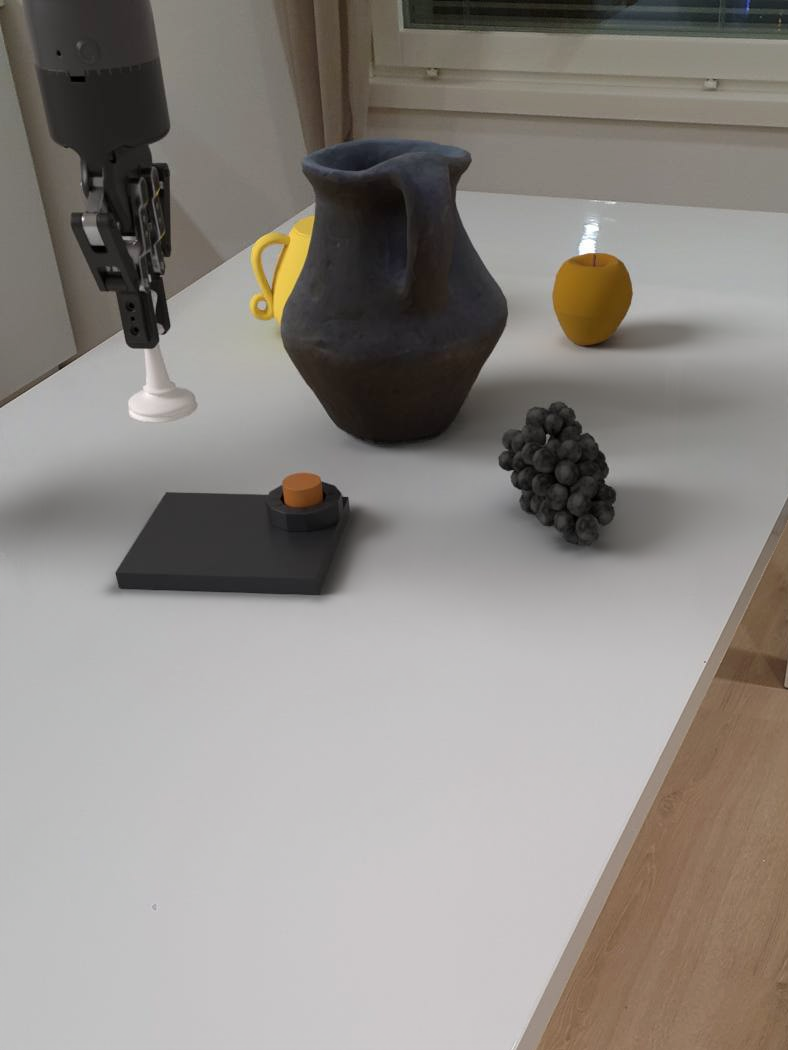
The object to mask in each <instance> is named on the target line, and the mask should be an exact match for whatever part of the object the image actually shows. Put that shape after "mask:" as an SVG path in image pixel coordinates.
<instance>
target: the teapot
mask: <svg viewBox="0 0 788 1050" xmlns="http://www.w3.org/2000/svg"><path fill="white" fill-rule="evenodd" d="M314 218H315V214H311V215H309V216H305V217H304V218H301V219H299V220H298V221H297V222H296V223H295V224H294V225H293V226H292V228H291V230H290V231H289V234H285V233H281V232H269V233H267V234H264V235H263V236H261V237H259V239H257V240H256V242H254V244H253V247H252V248H251V252H250V262H251V267H252V270H253V273H254V276H255V279H256V282H257V284H258V286H259V288H260V291H261V293H256V294H254V295H253V296H252V297H251V299H250V301H249V311H250V313H251V315H252V316H253V318H255V319H257V320H260V321H262V322H263V321H267V322H268V321H270V320H272V319H273V318H274V319H275V321H276V323H277V324H278V325H279V326H280V327H281V317H282V313H283V308H284V306H285V303H286V301H287V299H288V297H289V296H290V294H291V292H292V290H293V288H294V285H295V283H296V281H297V279H298V277H299V275H300V272H301V270H302V268H303V266H304V263H305V260H306V257H307V253H308V249H309V244H310V240H311V235H312V229H313V224H314ZM272 245H283V246H282V248H281V251H280V253H279V255H278V258H277V261H276V264H275V268H274V271H273V275H272V280H271V286H270V283H269V282H268V279H267V277H266V274H265V271H264V267H263V263H262V255H263V252H264V250H265V249H267V248H268V247H269V246H270V247H271V246H272ZM259 302H265V304H266V305H265V308H264V309H260V308H259V307H258V304H259Z"/></svg>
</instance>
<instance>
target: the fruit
mask: <svg viewBox="0 0 788 1050" xmlns="http://www.w3.org/2000/svg"><path fill="white" fill-rule="evenodd" d="M576 419H577V415H576V412H575V410H574V409H573V408H571V407H569V406H568V405H567V403H565V402H564V401H555V402H552V403H551V404H550V405H549V407H548V408H546V407H539V406H533V407H532V408H530V409H528V410H527V412H526V414H525V424H524V425H523V427H522V430H520V429H512V428H510V429H508V430H507V431H506V432H504V434H503V435H502V437H501V443H502V445H503V447H504V448H505V450H504V451H503V450H502V452H501V453H500V454H499V456H498V457H497V458H498V459H497V460H498V466H499V467H500V468H501V469H502V470H505V471H507V472H511V471H512V472H511V474H510V476H509V478H510V482H511V484H512V486H513V487H514V488H516V489H517V490H519V491H521V495H520V497H519V500H518V502H519V505H520V509H521V510H522V511H523V512H526V513H527V514H536V518H537V519H538V521H539V523H540V524H541V526H544V527H549V528H551V527H554V529H555V530H556V531H557V532H559V533H560V534H562V537H563V538H564V541H566V542H569V543H571V544H574V543H578V544H579V545H580V546H587V547H590V546H592V545H593V544H595V543H596V542H597V541H598V540H599V537H600V528H601V526H603V527H605V526H607V525H609V524H611V523H612V522H613V520H614V518H615V516H616V513H615V506H613V505H614V504H615V503H616V501H617V491H616V490H615V489H614V487H613V486H611V485H609V484H606V481H605V480H606V479H607V477H608V476H609V473H610V468H609V464H608V463H607V461H606V460H607V457H606V455H605V454H604V452H603V451H602V450H601V449H600V447H599V443H597V442H596V439H595V437H594V435H592V434H591V433H589V432H584V433H583V425H582V424H581V422H580V421H579V420H576ZM547 435H548V436H549V437H548V439H547Z"/></svg>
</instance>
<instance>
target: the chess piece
mask: <svg viewBox="0 0 788 1050" xmlns="http://www.w3.org/2000/svg"><path fill="white" fill-rule="evenodd" d="M148 276H149V281H150V282H151V276H150V275H149V274H148ZM149 290H150V289H149ZM151 295H152V300H153V306H154V311H155V309H156V303H157V293H156V292H155V291H153V290H151ZM157 328H158V333H159V336H162V335H161V334H162V333H163V332H164V328H163V326H162V325H161V324H158V323H157ZM159 343H160V342H159ZM159 343H158V344H157V345H156V347H155V348H153V349H143V350H144V351H143V352H144V362H145V363H144V365H145V379H146V381H145V382H146V383H145V384H144V385H143V386H142V390H140V391H138V392H136V393H134V394H133V395H132V396H131V397H130V398H129V399H128V402H127V405H128V415H129V416H130V417H131V418H132V419H134V420H136V421H139V422H144V423H151V424H161V423H162V424H163V423H171V422H175V421H179V420H182V419H184V418H187V417H189V416H190V415H192V414H193V413H195V412H196V411H197V409H198V405H199V404H198V401H197V400H196V396H195V394H194V392H193V391H191V390H190V389H188V388H186V387H182V386H179V385H176V383H175V382H173V381H171V378H170V377H169V373H168V370H167V367H166V364H165V361H164V357H163V354H162V351H161V348H160V344H159Z"/></svg>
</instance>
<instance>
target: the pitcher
mask: <svg viewBox="0 0 788 1050" xmlns="http://www.w3.org/2000/svg"><path fill="white" fill-rule="evenodd" d="M472 159H473V158H472V155H471V152H469V151H468V150H466V149H464V148H462V147H458V146H455V145H449V144H448V145H447V144H440V143H438V142H434V141H430V140H422V139H409V138H408V139H406V138H389V137H376V138H375V137H374V138H364V139H359V140H353V141H351V140H350V141H345V142H342V143H338V144H335V145H332V146H328V147H323V148H321V149H318V150H316V151H313V152H311V153H310V154H308V155H306V156H305V157H304V158H303V159H302V160H301V162H300V163H301V169H302V170H301V171H302V173H303V175H304V176H305V178H306V179H307V181H308V183H309V184H310V185H311V187H312V189H313V192H314V197H315V202H314V203H315V204H314V215H315V218H314V224H313V229H312V235H311V240H310V244H309V249H308V253H307V257H306V260H305V263H304V266H303V268H302V270H301V272H300V275H299V277H298V279H297V281H296V283H295V285H294V288H293V290H292V292H291V294H290V296H289V297H288V299H287V301H286V303H285V306H284V308H283V313H282V317H281V326H280V337H281V342H282V344H283V348H284V350H285V353H286V354H287V356H288V357H289V358H290V360H291V362H292V364H293V366H294V367H295V369H296V371H297V372H298V373H299V375H300V376H301V378H302V380H303V381H304V383H305V384H306V385H307V386H308V388H310V390H311V391H312V392H313V394H314V396H315V397H316V399H317V400H318V401H319V403H320V405H321V406H322V408H323V409H324V410H325V412H326V414H327V415H328V417H329V419H330V420H331V421H332V422H333V423H334V425H335V426H336V427H337V428H338V429H340V430H341V431H343V432H344V433H347V434H348V435H351V436H353V437H355V438H357V439H359V440H361V441H368V442H369V441H370V442H372V443H376V444H400V443H401V444H402V443H413V442H419V441H424V440H429V439H430V440H431V439H433V438H438V437H439V436H441V435H442V434H443V433H444V432H446V431H447V430H448V429H449V427H450V426H451V425H452V423H453V422H454V420H455V419H456V418H457V416H458V415H459V414H460V411H461V410H462V407H464V406H463V405H464V404H465V402H466V400H467V398H468V397H469V395H470V392H471V390H472V388H473V386H474V384H476V381H477V380H478V377H479V375H480V373H481V370H482V369H483V367H484V365H485V364H486V362H487V361H488V360H489V358H490V356H491V355H492V353H493V351H494V349H495V348H496V346H497V345H498V342H499V341H500V339H501V337H502V335H503V334H504V331H505V329H506V327H507V322H508V316H509V308H508V300H507V298H506V296H505V294H504V292H503V290H502V288H501V286H500V285H499V284H498V282H497V281H496V279H495V278H494V277H493V276H492V274H491V273H490V271H489V270H488V268H487V266H486V265H485V263H484V261H483V260H482V258H481V256H480V254H479V253H478V251H477V250H476V247H475V246H474V244H473V241H472V240H471V238H470V236H469V235H468V232H467V230H466V228H465V226H464V224H463V221H462V218H461V216H460V212H459V210H458V206H457V201H456V200H457V189H458V188H457V186H458V184H459V182H460V180H461V177H462V176H463V174H465V173H466V171H467V170H468V169H469V167H470V166H471V164H472V161H473V160H472Z"/></svg>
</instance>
